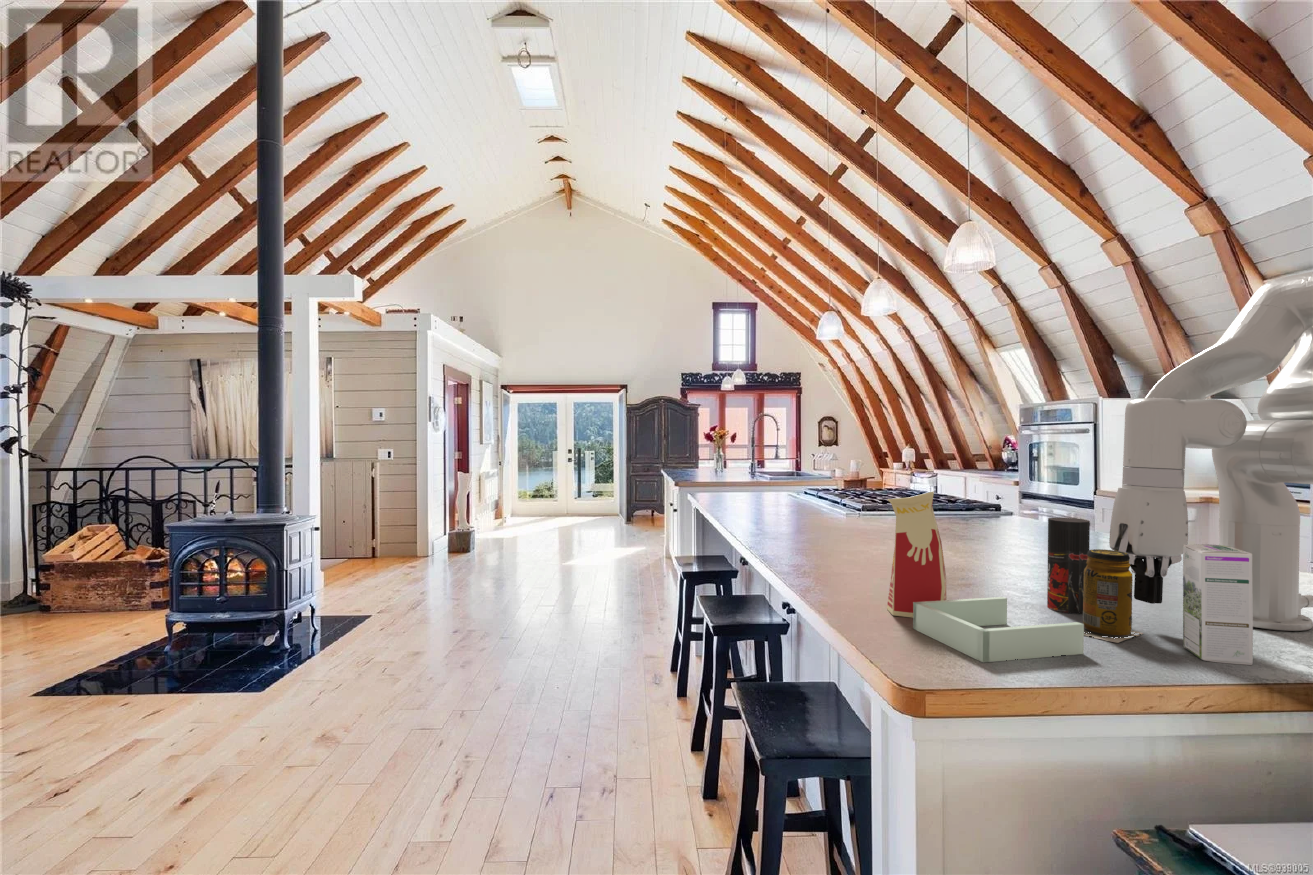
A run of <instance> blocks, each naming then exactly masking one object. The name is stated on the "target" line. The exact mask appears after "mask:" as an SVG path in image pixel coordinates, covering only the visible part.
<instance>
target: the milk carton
mask: <svg viewBox="0 0 1313 875" xmlns="http://www.w3.org/2000/svg"><path fill="white" fill-rule="evenodd" d="M934 493H935V491H934V490H932V491H930V492H925V493H922V494H917V495H914V496H910V497H909V496H908V497H898V498H888V499H886V500H887V501H888V503H890V504H891V506H892V509H893V512H894V514H895V534H894V535H895V536H894V547H893V548H894V550H893V559H892V564H891V565H892V566H891V574H890V581H889V589H888V590H889V591H888V598H887V599H888V600H887V605H886V610H887V611H888V612H889V613H890V614H891V615H892V616H897V617H904V618H912V619H913V602H925V601H942V600H948V599H947V597H948V596H947V573H946V566H945V564H946V563H945V558H944V550H943V543H942V539H941V534H940V530H939V527H938V524H937V519H936V516H935V515H936V514H935V512H934V508H933V504H934V503H933V502H934V500H933V499H934V495H935V494H934Z"/></svg>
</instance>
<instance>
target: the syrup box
mask: <svg viewBox="0 0 1313 875" xmlns="http://www.w3.org/2000/svg"><path fill="white" fill-rule="evenodd" d="M1182 590H1183V591H1182V599H1183V600H1182V646H1183V648H1184V649H1185V650H1187V651H1189V652H1190V653H1191V654H1192V655H1194V656H1196V657H1197V658H1199V660H1202V661H1205V662H1206V661H1207V662H1212V663H1213V662H1214V663H1223V664H1233V665H1245V666H1246V665H1247V666H1249V665H1250V666H1252V665H1253V662H1254V660H1253V658H1254V657H1253V656H1254V655H1253V654H1254V653H1253V651H1254V648H1253V647H1254V646H1253V645H1254V644H1253V643H1254V640H1253V639H1254V630H1253V629H1254V627H1253V594H1252V554H1251V553H1248V552H1245V551H1242V550H1239V549H1236V548H1232V547H1229V546H1221V545H1219V544H1207V543H1205V544H1203V543H1202V544H1197V543H1196V544H1195V543H1194V544H1188V545H1184V546H1183V554H1182Z"/></svg>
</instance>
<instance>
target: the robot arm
mask: <svg viewBox="0 0 1313 875" xmlns="http://www.w3.org/2000/svg"><path fill="white" fill-rule="evenodd" d="M1293 347H1294V350H1293V353H1292V355H1291V356H1290V358H1289V359H1288V361H1286V363H1285V364H1284V366H1283V367H1282V368H1281V370H1280V371H1279V372H1278V373H1277V374H1276V376H1275V377H1274V378H1273V380H1272V381H1271V382H1270V383H1269V385H1268V386H1267V387H1266V388H1265V390H1264V392H1263V394H1262V395H1261V397H1260V399H1259V401H1258V404H1257V415H1258V417H1259V418H1260V419H1255V420H1254V419H1253V420H1247V417H1246V414H1245V413H1244V411H1243V410H1242V409H1241V408H1240V407H1239V406H1238V405H1236V404H1234V403H1232V402H1231V401H1227V400H1225V399H1217V398H1209V397H1211V396H1213V395H1216V394H1218V393H1221V392H1224V391H1227V390H1230V389H1233V388H1237V387H1240V386H1243V385H1246V384H1250V383H1251V382H1254V381H1258V380H1260V379H1262V378H1265V377H1266V376H1269V375H1270V374H1272V373H1273V372H1274V371H1276V370H1277V369H1278V368H1279V367H1280V365H1281V364H1282V362H1283V361H1284V360H1285V359H1286V357H1287V356H1288V354H1289V353H1290V352H1291V350H1292V349H1293ZM1123 429H1124V436H1123V458H1122V460H1123V461H1122V480H1121V481H1122V482H1121V484H1122V485H1121V487H1118V488H1117V490H1116V494H1115V497H1114V501H1113V506H1112V512H1111V519H1110V525H1109V526H1110V529H1109V538H1108V539H1109V542H1108V543H1109V548H1110V550H1114V551H1120V552H1124V553H1127V554H1128V555H1129V557H1130V559H1129V563H1130V572H1131V573H1132V574H1134V584H1133V587H1134V588H1133V598H1134V600H1137V601H1139V602H1144V603H1148V604H1151V605H1152V604H1153V605H1154V604H1162V603H1163V592H1164V590H1163V589H1164V578H1165V577H1166V576H1167V574H1168V569H1169V568H1170V567H1171V566H1172V565H1175V564H1178V563H1180V562H1182V561H1183V557H1182V556H1183V546H1184V545H1189V544H1188V542H1189V512H1188V504H1187V503H1188V502H1187V498H1186V492H1185V472H1186V471H1185V468H1186V449H1200V450H1201V449H1202V450H1204V449H1205V450H1211V456H1212V461H1213V465H1214V469H1215V470H1214V471H1215V474H1216V479H1217V486H1218V497H1219V500H1218V501H1219V504H1218V506H1219V509H1218V510H1219V512H1218V513H1219V518H1218V545H1221V546H1229V547H1232V548H1236V549H1239V550H1242V551H1245V552H1248V553H1251V554H1252V594H1253V628H1257V629H1263V630H1264V629H1265V630H1274V631H1285V632H1288V631H1290V632H1291V631H1293V632H1299V631H1300V632H1301V631H1302V632H1303V631H1308V630H1311V629H1312V628H1313V620H1312V619H1311V617H1308V616H1306V615H1304V614H1302V610H1303V609H1304V608H1306V609H1307V608H1313V595H1312V594H1303V595H1302V593H1300V542H1301V541H1300V539H1301V538H1300V534H1301V533H1300V532H1301V531H1300V529H1301V527H1300V526H1301V511H1300V507H1299V504H1298V503H1297V500H1296V498H1295V497H1294V495H1293V494H1292V492H1291V491H1290V489H1289V488H1288V487H1287V485H1286V484H1287V483H1289V484H1300V485H1301V484H1302V485H1313V271H1309V272H1303V273H1298V274H1294V275H1287V276H1284V277H1279V278H1276V279H1273V280H1270V281H1268V282H1266V283H1264V284H1262V285H1261V286H1260V287H1259V288H1257V290H1256V291H1255V292H1254V293H1253V294H1252V296H1251V297H1250V298H1249V300H1248V301H1247V302H1246V303H1245V305H1244V306H1243V307H1242V308H1241V310H1240V311H1239V313H1238V314H1237V315H1236V317H1235V319H1234V320H1233V321H1232V322H1231V324H1230V325H1229V326H1228V328H1226V330H1225V331H1224V332H1223V334H1222V335H1221V336H1220V337H1219V339H1218V340H1217V342H1216V343H1214V344H1212V345H1211V346H1210V347H1207V348H1206V349H1204V350H1202V351H1201V352H1199V353H1198V354H1195V355H1194V356H1193V357H1191V358H1190V359H1188V360H1186V361H1185V362H1182V363H1181V364H1180V365H1178V366H1177V367H1175V368H1174V369H1172V370H1170V371H1168V373H1166V374H1165V375H1163V376H1162V377H1161V379H1159V380H1158V381H1157V383H1156V382H1155V385H1153V387H1152V388H1151V389H1150V390H1149V392H1148V393H1147V395H1146V396H1145V397H1144V398H1135V399H1132V400H1130V401H1128V403H1127V404H1126V406H1125V411H1124V428H1123Z"/></svg>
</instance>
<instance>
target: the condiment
mask: <svg viewBox="0 0 1313 875" xmlns="http://www.w3.org/2000/svg"><path fill="white" fill-rule="evenodd" d="M1087 555H1088V560H1087V562H1086V563H1087V566H1086V568H1085V569H1084V593H1083V614H1082V624H1084V632H1085V633H1084V637H1089V636H1093V637H1094V638H1093V637H1092V638H1093V639H1100V640H1103V641H1106V642H1113V643H1116V644H1119V643H1121V642H1124V641H1126V640H1130V639H1131V638H1124V637H1128V636H1136V637H1139V636H1141V635H1143V634H1144V632H1141V631H1135V630H1132V628H1133V627H1132V624H1133V616H1132V614H1133V587H1134V584H1133V579H1134V577H1133V573H1132V571H1131V570H1130V569H1131V567H1130V563H1129V559H1130V557H1129V555H1128V554H1127V553H1124V552H1120V551H1114V550H1112V549H1103V548H1102V549H1099V548H1098V549H1097V548H1096V549H1089V551H1088V553H1087ZM1088 632H1089V633H1088ZM1090 632H1091V633H1090ZM1131 632H1135V633H1139V634H1141V635H1134V634H1135V633H1134V634H1131ZM1086 633H1087V634H1086ZM1102 636H1108V637H1109V638H1108V637H1106V638H1105V637H1102ZM1110 637H1113V638H1110ZM1115 637H1118V638H1115ZM1120 637H1121V638H1120ZM1114 638H1115V639H1114Z"/></svg>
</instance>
